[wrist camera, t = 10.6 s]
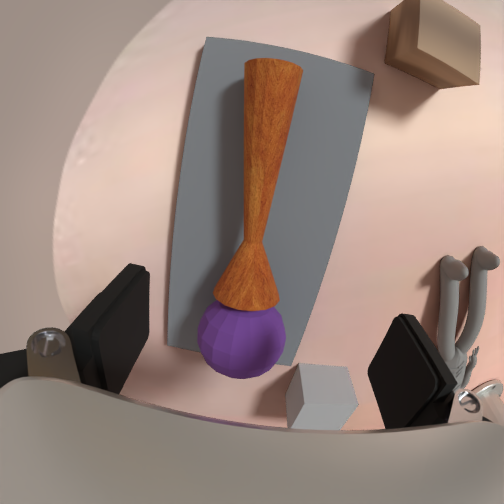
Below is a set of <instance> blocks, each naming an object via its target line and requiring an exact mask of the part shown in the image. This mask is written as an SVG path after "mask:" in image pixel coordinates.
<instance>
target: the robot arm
mask: <svg viewBox="0 0 504 504" xmlns="http://www.w3.org/2000/svg"><path fill="white" fill-rule="evenodd" d="M149 284H150V273H149V272H148V271H146V269H145V267H144V266H140V265H135V264H131V263H130V264H128V265H127V266H126V267H125V268H124V269H123V270H122V271H121V272H120V273H119V274H118V275H117V276H116V277H115V278H114V280H113V281H112V282H111V283H110V284H109V285H108V286H107V287H106V288H105V289H104V290H103V291H102V292H101V293H99V294H98V295H97V296H96V297H95V298H94V299H93V300H92V301H91V303H90V304H89V305H88V306H87V307H86V308H85V309H84V310H83V311H82V312H81V314H80V315H79V316H78V317H77V318H76V319H75V320H74V321H73V322H72V324H71V325H70V326H69V327H68V328H67V330H66V331H65V332H64V331H62V330H60V329H58V328H43V329H40V330H38V331H36V332H34V333H33V334H32V335H31V336H30V337H29V339H28V341H27V346H26V349H24V350H19V351H13V352H8V353H4V354H0V504H504V404H503V402H502V400H501V399H500V396H501V394H502V391H503V384H502V383H501V382H500V380H492V381H489V382H486V383H484V384H482V385H481V386H479V387H477V388H476V389H474V390H473V391H470V390H468V389H459V390H457V391H456V392H455V394H454V392H453V389H454V388H455V387H456V385H457V384H458V383H457V381H456V379H455V378H454V376H453V374H452V373H451V371H450V369H449V368H448V366H447V364H446V363H445V361H444V360H443V358H442V357H441V355H440V353H439V352H438V350H437V349H436V347H435V346H434V344H433V343H432V341H431V340H430V338H429V337H428V335H427V334H426V332H425V331H424V329H423V328H422V326H421V325H420V323H419V322H418V320H417V319H416V317H415V316H414V315H409V314H402V313H401V314H399V315H398V317H395V318H394V320H393V321H392V324H391V326H390V328H389V330H388V332H387V334H386V336H385V338H384V339H383V341H382V343H381V345H380V347H379V349H378V351H377V353H376V355H375V356H374V358H373V360H372V362H371V364H370V365H369V367H368V377H369V380H370V383H371V386H372V388H373V391H374V394H375V397H376V400H377V403H378V407H379V410H380V413H381V416H382V419H383V422H384V425H385V429H380V430H311V429H294V428H282V427H272V426H263V425H255V424H247V423H240V422H233V421H227V420H221V419H216V418H210V417H205V416H200V415H195V414H191V413H186V412H182V411H178V410H174V409H170V408H165V407H161V406H157V405H154V404H150V403H146V402H143V401H139V400H136V399H132V398H129V397H126V396H122V395H119V393H120V391H121V389H122V387H123V385H124V383H125V381H126V379H127V378H128V376H129V374H130V372H131V370H132V368H133V366H134V364H135V362H136V360H137V358H138V356H139V354H140V352H141V350H142V349H143V347H144V345H145V343H146V341H147V339H148V336H149Z"/></svg>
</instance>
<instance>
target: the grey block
mask: <svg viewBox="0 0 504 504" xmlns="http://www.w3.org/2000/svg"><path fill="white" fill-rule="evenodd" d="M285 399H286V412H287V426H288V428H294V429H311V430H340V429H341V428H342V427H343V425H344V424H345V423H346V421H347V420H348V419H349V417H350V416H351V415H352V413H353V412H354V410H355V409H356V408H357V406H358V405H359V404H358V401H357V398H356V394H355V391H354V388H353V384H352V381H351V378H350V375H349V371H348V368H347V367H344V366H329V365H316V364H305V363H299V364H298V366H297V369H296V371H295V373H294V376H293V378H292V381H291V383H290V385H289V388H288V390H287V392H286V394H285Z"/></svg>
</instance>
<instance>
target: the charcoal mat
mask: <svg viewBox="0 0 504 504" xmlns="http://www.w3.org/2000/svg"><path fill="white" fill-rule="evenodd" d="M256 58H273V59H281V60H285V61H289V62H292V63H294V64H296V65H298V66H300V67H301V68H302V69H303V74H302V78H301V83H300V87H299V91H298V95H297V100H296V104H295V108H294V112H293V116H292V121H291V125H290V129H289V133H288V137H287V142H286V146H285V150H284V154H283V158H282V162H281V167H280V171H279V175H278V179H277V183H276V187H275V191H274V195H273V199H272V204H271V208H270V212H269V216H268V220H267V224H266V228H265V232H264V236H263V240H262V243H263V246H264V249H265V252H266V255H267V258H268V262H269V265H270V268H271V271H272V274H273V277H274V280H275V284H276V287H277V290H278V293H279V299H280V301H279V302H278V303H277V305H276V306H274V307H275V309H276V310H277V311H278V312H279V313H280V314H281V316H282V320H283V323H284V327H285V333H286V341H285V346H284V350H283V353H282V354H281V356H280V358H279V359H278V361H277V362H276V363H275V364H279V365H287V366H291V365H292V362H293V360H294V357H295V355H296V352H297V350H298V347H299V344H300V342H301V339H302V336H303V334H304V331H305V328H306V326H307V323H308V320H309V317H310V315H311V312H312V309H313V306H314V303H315V300H316V298H317V295H318V292H319V289H320V286H321V283H322V280H323V277H324V274H325V271H326V267H327V264H328V261H329V258H330V255H331V252H332V248H333V245H334V242H335V238H336V235H337V232H338V228H339V225H340V221H341V218H342V214H343V211H344V207H345V204H346V200H347V196H348V192H349V189H350V185H351V181H352V177H353V173H354V169H355V165H356V161H357V156H358V152H359V148H360V144H361V139H362V135H363V130H364V125H365V121H366V116H367V111H368V106H369V100H370V95H371V90H372V84H373V78H374V73H371V72H368V71H365V70H363V69H360V68H357V67H354V66H351V65H348V64H345V63H341V62H338V61H335V60H332V59H328V58H325V57H321V56H317V55H313V54H310V53H306V52H301V51H297V50H293V49H288V48H283V47H278V46H273V45H268V44H262V43H256V42H249V41H242V40H234V39H225V38H215V37H206V41H205V45H204V49H203V53H202V57H201V62H200V66H199V71H198V75H197V80H196V85H195V90H194V95H193V100H192V105H191V110H190V116H189V121H188V127H187V133H186V139H185V145H184V152H183V158H182V165H181V172H180V180H179V188H178V196H177V204H176V213H175V223H174V233H173V244H172V256H171V270H170V286H169V307H168V339H167V345H169V346H173V347H178V348H182V349H187V350H192V351H197V352H201V351H200V348H199V345H198V343H197V334H198V326H199V322H200V319H201V317H202V316H203V314H204V312H205V310H206V309H207V307H208V306H209V305H211V304H212V303H213V302H214V301H216V298H215V296H214V294H213V291H214V287H215V286H216V284H217V282H218V281H219V279H220V277H221V276H222V274H223V272H224V271H225V269H226V268H227V266H228V264H229V263H230V261H231V259H232V258H233V256H234V254H235V253H236V251H237V250H238V248H239V246H240V245H241V243H242V241H243V240H244V63H245V62H247V61H248V60H251V59H256Z"/></svg>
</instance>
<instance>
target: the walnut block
mask: <svg viewBox="0 0 504 504" xmlns="http://www.w3.org/2000/svg"><path fill="white" fill-rule="evenodd" d="M480 59H481V34H480V25H479V24H478V23H476V22H475V21H473V20H472V19H471V18H469V17H468V16H466V15H465V14H463V13H462V12H460V11H459V10H457V9H456V8H454V7H453V6H451V5H449V4H448V3H446V2H444V1H443V0H404V1H402V2H401V3H400V4H399V5H397V6H396V7H395V8H394V9H392V10H391V12H390V23H389V32H388V40H387V48H386V55H385V62H384V63H385V64H387V65H390V66H392V67H395V68H397V69H399V70H401V71H404V72H406V73H408V74H410V75H412V76H415V77H417V78H419V79H421V80H423V81H425V82H427V83H429V84H431V85H433V86H435V87H436V88H438V89H445V88H453V87H461V86H470V85H479V80H480Z"/></svg>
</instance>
